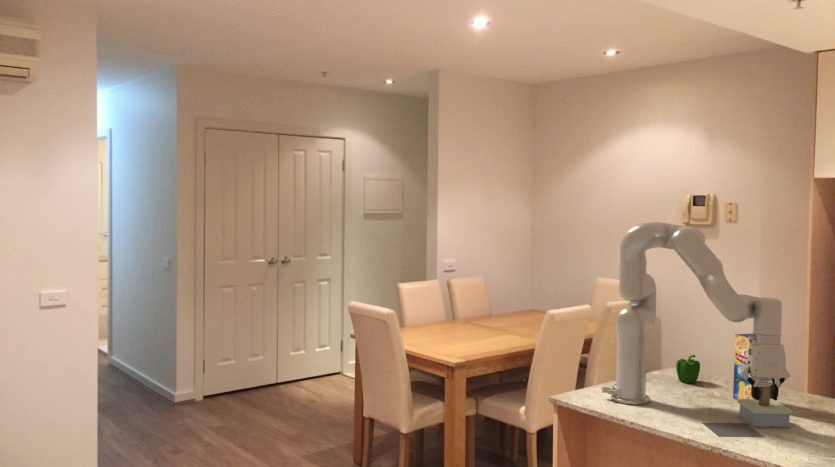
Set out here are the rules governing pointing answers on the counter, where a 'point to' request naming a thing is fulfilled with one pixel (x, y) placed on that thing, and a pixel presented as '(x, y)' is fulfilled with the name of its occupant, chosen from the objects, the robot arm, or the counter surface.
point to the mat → (732, 430)
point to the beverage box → (740, 362)
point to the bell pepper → (688, 369)
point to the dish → (764, 419)
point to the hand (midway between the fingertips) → (764, 398)
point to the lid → (764, 403)
